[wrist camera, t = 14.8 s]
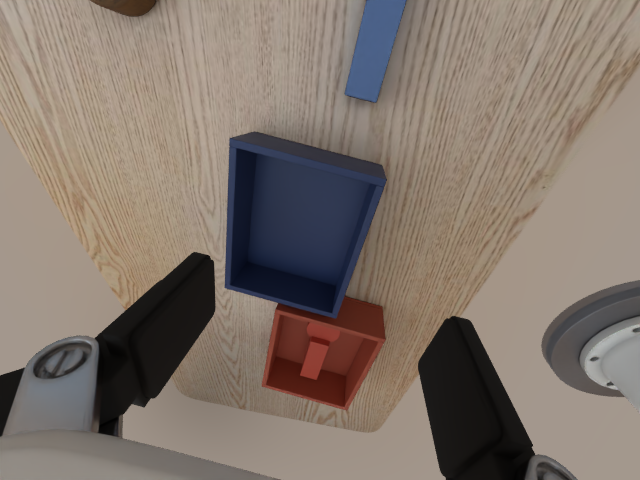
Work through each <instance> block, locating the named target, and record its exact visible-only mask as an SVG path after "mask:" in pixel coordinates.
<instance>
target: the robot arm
mask: <svg viewBox="0 0 640 480" xmlns="http://www.w3.org/2000/svg"><path fill="white" fill-rule="evenodd" d="M214 312H215V277H214V261H213V260H211V258H210V256H209V255H205V254H201V253H197V252H193V253H192V254H191V255H190V256H188V257H187V258H186V259H185V260H184V261H183V262H182V263H181V264H179V265H178V266H177V267H176V268H175V269H174V270H173V271H172V272H171V273H169V274H168V275H167V276H166V277H165V278H164V279H163V280H160V281H159V282H158V283H156V284H155V285H154V286H153V287H152V288H151V289H150V290H148V291H147V292H146V293H145V294H144V295H143V296H142V297H141V298H139V299H138V300H137V301H136V302H135V303H134V304H133V305H131V306H130V307H129V308H128V309H127V310H126V311H125V312H124V313H123V314H121V315H120V316H119V317H118V318H117V319H116V320H115V321H113V322H112V323H111V324H110V325H109V326H108V327H107V328H106V329H104V330H103V331H102V332H101V333H100V334H99V335H98V336H97V337H95V338H92V337H89V336H73V337H68V338H65V339H62V340H58V341H56V342H54V343H52V344H50V345H48V346H46V347H45V348H43V349H42V350H41V351H39V352H38V353H36V354H35V356H33V357H32V359H31V360H30V361H29V362H28V364H27V365H26V367H25V368H22V369H19V370H16V371H13V372H10V373H6V374H3V375H1V376H0V480H279V479H276V478H272V477H268V476H264V475H260V474H257V473H254V472H250V471H246V470H243V469H239V468H235V467H231V466H227V465H224V464H220V463H216V462H213V461H209V460H205V459H201V458H198V457H194V456H190V455H186V454H183V453H179V452H175V451H171V450H168V449H164V448H160V447H155V446H151V445H147V444H143V443H139V442H135V441H131V440H127V439H123V438H122V426H123V414H124V413H125V412H126V411H127V409H128V408H129V406H130V405H131V404H134V405H138V406H142V407H145V406H146V404H147V403H148V401H149V400H150V399H151V398H155V397H157V396H158V394H159V393H160V392H161V390H162V389H163V387H164V386H165V384H166V383H167V382H168V380H169V379H170V377H171V376H172V374H173V373H174V372H175V370H176V369H177V367H178V366H179V364H180V363H181V361H182V360H183V359H184V357H185V356H186V354H187V353H188V351H189V350H190V348H191V347H192V345H193V344H194V343H195V341H196V340H197V338H198V337H199V335H200V334H201V332H202V331H203V330H204V328H205V327H206V325H207V324H208V322H209V321H210V319H211V318H212V316H213V315H214ZM580 365H581V367H582V369H583V370H584V372H585V373H586V374H587V375H588V377H589V378H590V379H592V380H593V381H594V382H596V383H598V384H600V385H602V386H605V387H608V388H611V389H616V390H619V391H620V392H621V393H622V394H623V395H624V396H625V397H626V398H627V399H628V401H629V402H630V403H631V404H632V405H633V406H634V407H635V408H636V409H637V410H638V412H639V413H640V316H637V317H634V318H630V319H627V320H624V321H621V322H619V323H616V324H614V325H611V326H610V327H608V328H606V329H604V330H602V331H601V332H599V333H598V334H596V335H595V336H594V337H592V338H591V339H590V340H589V341H588V342H587V343H586V345H585V346H584V348H583V349H582V351H581V354H580ZM418 370H419V375H420V379H421V384H422V389H423V393H424V398H425V403H426V407H427V412H428V417H429V421H430V425H431V430H432V435H433V440H434V445H435V449H436V454H437V459H438V463H439V468H440V471H441V473H442V474H443V476H445V477H446V480H577V479H576V477H575V476H574V475H573V474H572V473H571V472H570V471H568V470H567V469H566V468H565V467H564V466H562V465H561V464H560V463H558V462H557V461H556V460H554V459H552V458H550V457H547V456H545V455H535V453H534V451H533V450H532V446H533V444H532V442H531V440H530V438H529V436H528V434H527V432H526V430H525V428H524V427H523V424H522V422H521V420H520V418H519V416H518V414H517V412H516V411H515V408H514V407H513V404H512V402H511V400H510V398H509V396H508V394H507V392H506V390H505V388H504V387H503V385H502V383H501V380H500V378H499V376H498V374H497V372H496V370H495V368H494V366H493V365H492V362H491V360H490V358H489V356H488V354H487V352H486V350H485V348H484V347H483V344H482V343H481V340H480V339H479V336H478V334H477V332H476V330H475V328H474V326H473V324H472V323H471V321H470V320H468V319H464V318H460V317H456V316H452V317H450V319H446V320H445V321H444V322H443V324H442V325H441V327H440V329H439V330H438V332H437V333H436V335H435V336H434V338H433V339H432V341H431V342H430V344H429V346H428V347H427V349H426V350H425V352H424V353H423V355H422V356H421V358H420V360H419V363H418Z"/></svg>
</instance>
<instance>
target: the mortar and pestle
mask: <svg viewBox="0 0 640 480" xmlns="http://www.w3.org/2000/svg"><path fill="white" fill-rule="evenodd" d="M90 1H92V2H94V3H95V4H97V5H99V6H102V7H104V8H107V9H110V10H112V11H115V12H118V13H120V14H123V15H127V16H140V15H143V14H145V13H147V12H148V11H149V10H150V9H151V8H152V7H153V5H154V4H155V1H156V0H90Z"/></svg>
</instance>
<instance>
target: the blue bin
mask: <svg viewBox="0 0 640 480" xmlns="http://www.w3.org/2000/svg"><path fill="white" fill-rule="evenodd" d="M229 146H230V147H229V177H228V207H227V237H226V266H225V288H227V289H230V290H234V291H237V292H241V293H245V294H248V295H252V296H255V297H259V298H263V299H266V300H270V301H274V302H277V303H281V304H284V305H288V306H292V307H295V308H299V309H302V310H306V311H310V312H313V313H317V314H321V315H324V316H328V317H331V318H335V319H336V318H337V315H338V312H339V310H340V307H341V304H342V301H343V299H344V296H345V293H346V290H347V288H348V285H349V282H350V279H351V277H352V274H353V271H354V268H355V266H356V263H357V260H358V258H359V255H360V252H361V249H362V247H363V244H364V241H365V238H366V236H367V233H368V230H369V227H370V225H371V222H372V219H373V216H374V214H375V211H376V208H377V206H378V203H379V200H380V197H381V195H382V192H383V189H384V186H385V184H386V181H387V179H386V176H385V172H384V169H383V166H382V165H380V164H376V163H373V162H369V161H365V160H361V159H357V158H354V157H350V156H346V155H342V154H338V153H335V152H331V151H327V150H323V149H319V148H316V147H312V146H308V145H304V144H300V143H296V142H293V141H289V140H285V139H281V138H277V137H274V136H270V135H266V134H262V133H258V132H251V133H247V134H244V135H240V136H236V137H232V138H230V143H229Z"/></svg>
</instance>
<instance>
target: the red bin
mask: <svg viewBox="0 0 640 480" xmlns="http://www.w3.org/2000/svg"><path fill="white" fill-rule="evenodd" d="M308 322H309V323H313V324H316V325H320V326H324V327H327V328H331V329H334V330H338V331H340V336H339V338H338V339H337V340H336V341H334V342H330V344H329V348H328V351H327V354H326V356H325V359H324V362H323V364H322V367H321V370H320V372H319V375H318V377H317V380H314V379H311V378H307V377H304V376H300V373H301V369H302V364H303V360H304V356H305V353H306V350H307V346H308V343H309V340H310V336H309V334H308V333H307V325H308ZM385 340H386V339H385V329H384V319H383V308H382V306H378V305H374V304H371V303H367V302H363V301H360V300H356V299H352V298H349V297H345V296H344V299H343V301H342V304H341V307H340V310H339V312H338V315H337V318H336V319H335V318H331V317H328V316H324V315H321V314H317V313H313V312H310V311H306V310H302V309H299V308H295V307H292V306H288V305H284V304H281V303H278V305H277V307H276V310H275V315H274V321H273V326H272V332H271V337H270V343H269V348H268V354H267V359H266V365H265V370H264V376H263V381H262V387H266V388H269V389H273V390H276V391H280V392H283V393H287V394H290V395H294V396H297V397H301V398H305V399H308V400H312V401H315V402H319V403H322V404H326V405H329V406H333V407H336V408H340V409H343V410H348V408H349V406H350V404H351V402H352V401H353V399H354V397H355V395H356V393H357V391H358V390H359V388H360V386H361V384H362V382H363V380H364V379H365V377H366V375H367V373H368V371H369V369H370V368H371V366H372V364H373V362H374V360H375V358H376V357H377V355H378V353H379V351H380V349H381V347H382V346H383V344H384V342H385Z"/></svg>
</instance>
